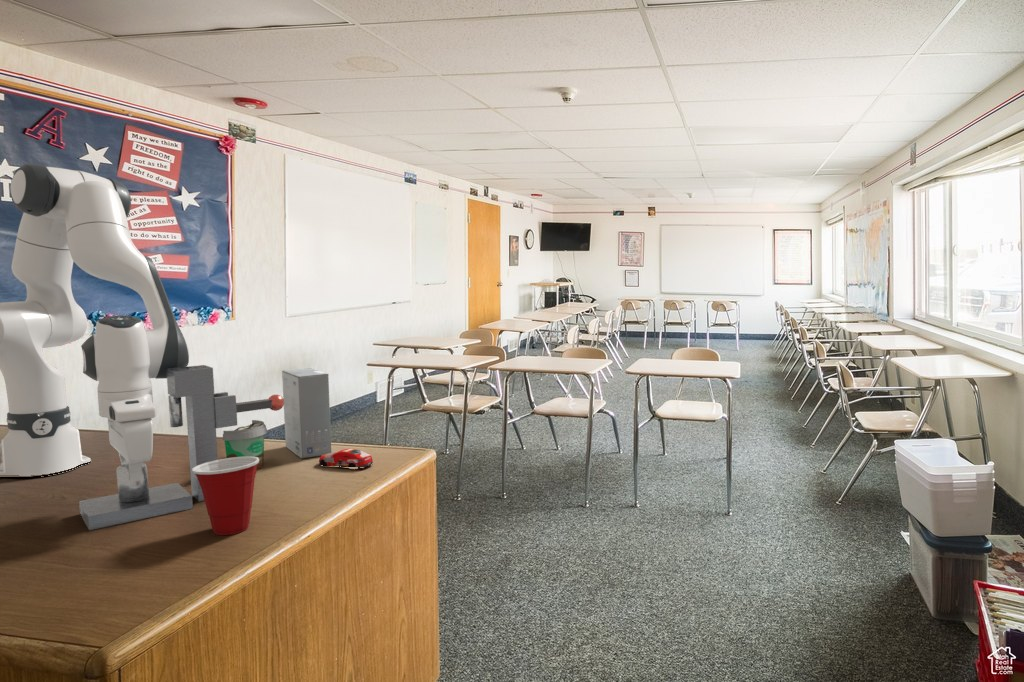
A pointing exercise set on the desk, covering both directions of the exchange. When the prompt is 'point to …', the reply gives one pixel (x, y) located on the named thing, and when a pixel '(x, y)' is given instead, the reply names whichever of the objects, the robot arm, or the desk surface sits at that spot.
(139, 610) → the desk surface
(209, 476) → the plastic cup
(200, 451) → the press
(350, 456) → the race car
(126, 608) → the desk surface
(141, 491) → the cylinder
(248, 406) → the lever
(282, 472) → the desk surface
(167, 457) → the desk surface
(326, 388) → the hard drive box
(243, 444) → the food container
